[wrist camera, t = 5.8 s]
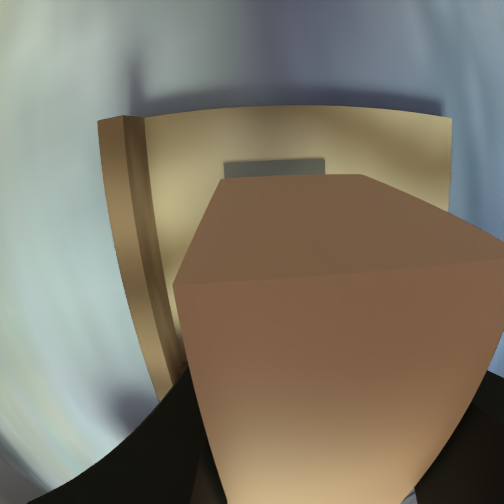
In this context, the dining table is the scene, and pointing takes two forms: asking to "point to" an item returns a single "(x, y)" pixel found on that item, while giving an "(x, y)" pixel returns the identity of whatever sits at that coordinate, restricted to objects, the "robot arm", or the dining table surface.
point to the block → (334, 334)
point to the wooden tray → (236, 166)
